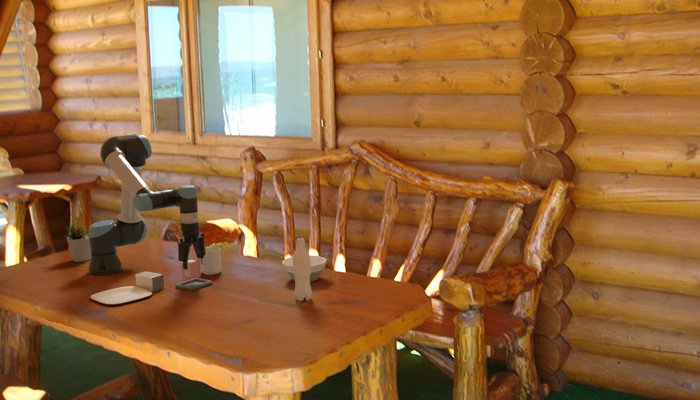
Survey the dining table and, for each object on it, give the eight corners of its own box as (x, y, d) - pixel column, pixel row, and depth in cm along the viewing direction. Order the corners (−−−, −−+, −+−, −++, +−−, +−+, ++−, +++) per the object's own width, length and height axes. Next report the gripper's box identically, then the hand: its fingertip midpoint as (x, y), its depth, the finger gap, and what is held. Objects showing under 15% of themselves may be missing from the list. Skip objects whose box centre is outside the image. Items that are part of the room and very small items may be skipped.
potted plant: (74, 256, 416) (70, 218, 412) (99, 256, 414) (96, 218, 410) (62, 263, 403) (58, 223, 400) (88, 263, 402) (84, 223, 398)
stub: (182, 278, 354) (180, 262, 352) (192, 275, 358) (191, 259, 357) (190, 279, 351) (188, 263, 350) (200, 276, 355) (199, 260, 354)
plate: (131, 288, 356) (131, 284, 356) (158, 297, 341) (157, 293, 341) (84, 299, 341) (84, 295, 341) (110, 309, 326) (110, 305, 326)
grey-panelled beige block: (136, 287, 355) (135, 274, 353) (147, 284, 359) (146, 271, 358) (153, 291, 348) (152, 277, 347) (164, 288, 353) (163, 274, 352)
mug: (225, 272, 375) (223, 249, 373) (208, 276, 369) (206, 252, 367) (211, 268, 384) (210, 244, 382) (195, 271, 378) (193, 248, 377)
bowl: (301, 288, 346) (300, 269, 345) (274, 279, 361) (273, 261, 359) (336, 278, 359) (335, 260, 357) (308, 270, 373) (307, 253, 372)
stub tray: (175, 287, 353) (175, 284, 352) (196, 281, 362) (196, 277, 362) (191, 291, 347) (191, 287, 347) (212, 284, 356) (212, 280, 356)
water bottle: (314, 297, 332) (312, 237, 327) (308, 302, 325) (305, 241, 321) (298, 296, 334) (295, 236, 330) (291, 301, 327) (288, 240, 323)
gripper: (178, 226, 340) (182, 280, 344) (212, 218, 355) (215, 270, 359) (166, 225, 344) (170, 278, 348) (200, 217, 359) (203, 268, 363)
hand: (193, 274), depth 353 cm, fingers closed on stub, 6 cm apart
